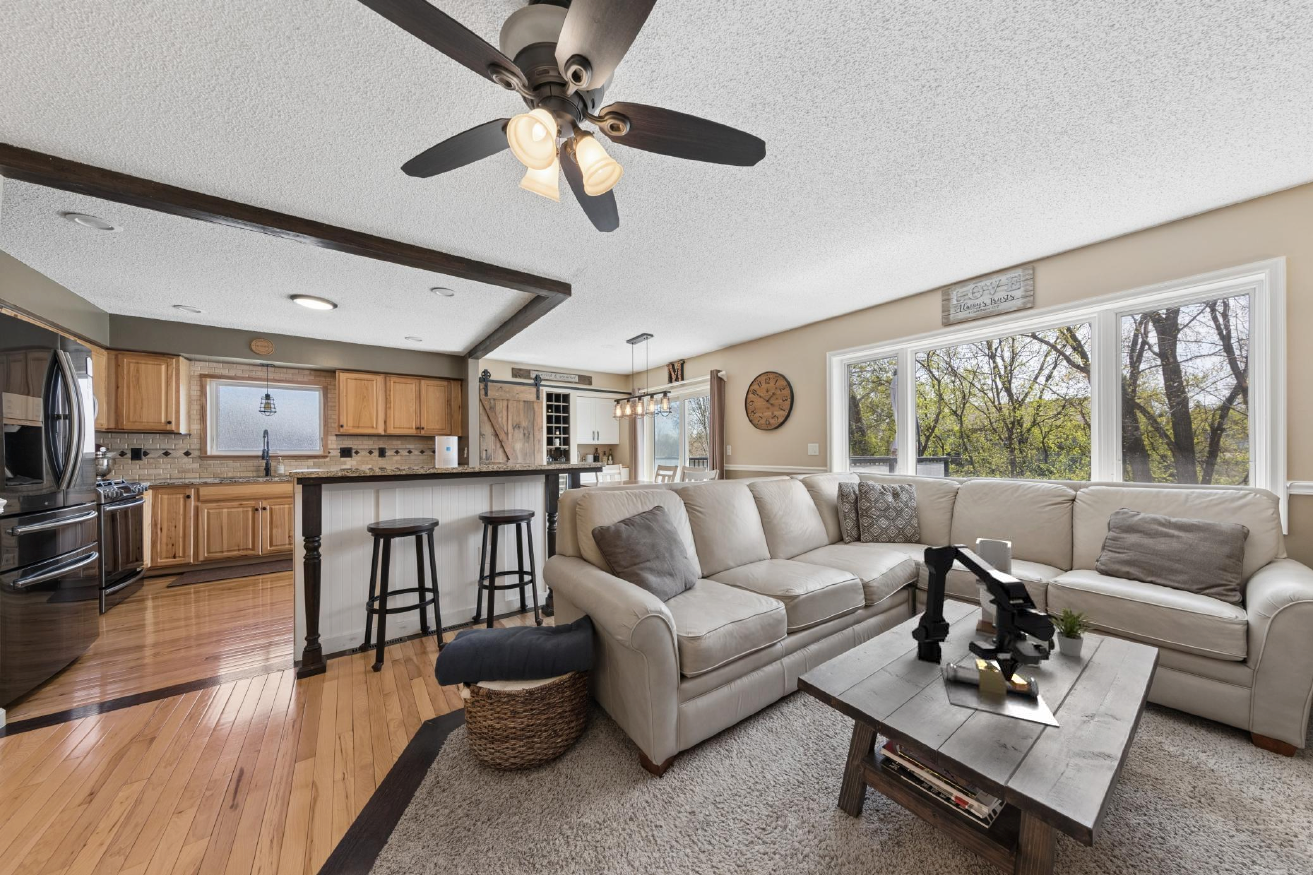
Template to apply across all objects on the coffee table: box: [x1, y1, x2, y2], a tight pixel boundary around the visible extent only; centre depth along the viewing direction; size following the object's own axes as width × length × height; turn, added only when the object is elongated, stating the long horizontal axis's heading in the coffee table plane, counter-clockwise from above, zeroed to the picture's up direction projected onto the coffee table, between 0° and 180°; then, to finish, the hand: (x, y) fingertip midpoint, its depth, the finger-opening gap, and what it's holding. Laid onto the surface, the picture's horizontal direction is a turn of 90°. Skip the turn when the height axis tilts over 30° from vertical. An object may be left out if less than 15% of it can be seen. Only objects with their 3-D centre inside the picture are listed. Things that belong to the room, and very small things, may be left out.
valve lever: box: [983, 660, 1027, 690], centre depth 130 cm, size 15×3×2 cm, turn 173°
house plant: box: [1045, 605, 1101, 658], centre depth 156 cm, size 14×14×16 cm
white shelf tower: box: [975, 537, 1013, 639], centre depth 175 cm, size 11×11×35 cm
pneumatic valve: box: [1025, 634, 1056, 668], centre depth 150 cm, size 6×12×12 cm, turn 78°
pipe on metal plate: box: [940, 658, 1060, 728], centre depth 132 cm, size 24×22×7 cm
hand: (1007, 680), depth 125 cm, fingers closed
